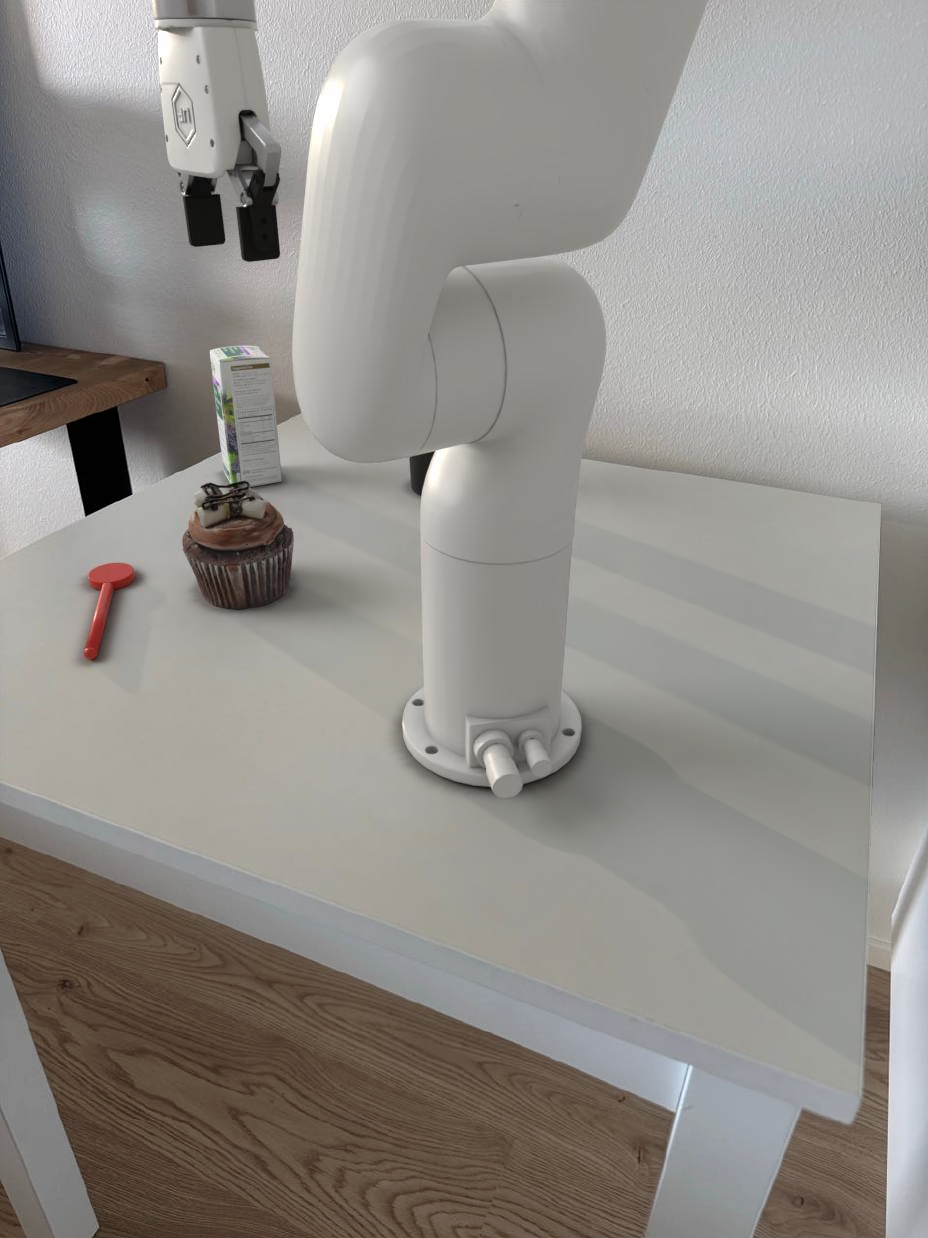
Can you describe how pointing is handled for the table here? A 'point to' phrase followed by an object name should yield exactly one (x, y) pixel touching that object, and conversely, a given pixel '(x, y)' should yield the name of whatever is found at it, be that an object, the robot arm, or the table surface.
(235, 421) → the syrup box
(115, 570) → the spoon
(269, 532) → the cupcake
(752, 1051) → the table surface
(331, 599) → the table surface
